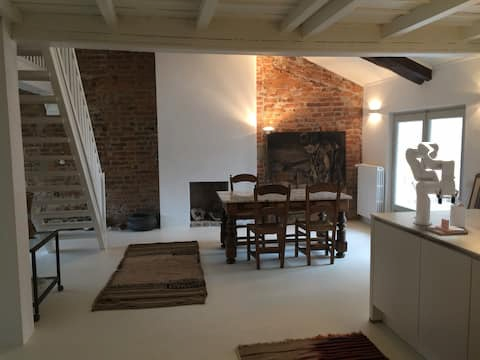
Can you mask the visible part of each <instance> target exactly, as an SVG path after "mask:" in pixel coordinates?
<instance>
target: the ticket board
mask: <svg viewBox="0 0 480 360" xmlns="http://www.w3.org/2000/svg"><path fill="white" fill-rule="evenodd" d="M449 228H450V229H453V230H455V232H445V231H442V230H440V229H437V228H435V227H425V231H426V232H427V231H428V232H429V233H433V234H435V235H438V236H459V235H460V234H461V235H462V234H463V235H469V232H468V231H466V230H465V229H464V228H462V227H455V226H450V225H449ZM463 235H462V236H463Z"/></svg>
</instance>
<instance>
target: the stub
mask: <svg viewBox="0 0 480 360" xmlns="http://www.w3.org/2000/svg"><path fill="white" fill-rule="evenodd" d="M440 222H441V224H440V225H437V226H435V227H434V228H437V229H440V230H442V231H445V232H455V230H453V229H450V228H449V226H450V219H447V218H441V221H440Z"/></svg>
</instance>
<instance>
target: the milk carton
mask: <svg viewBox="0 0 480 360" xmlns="http://www.w3.org/2000/svg"><path fill="white" fill-rule="evenodd" d="M466 211H467V207H466V206H465V204H463V203H462V200H458V199H455V204H452V203H451V204H450V215H449V226H455V227H458V228H466Z"/></svg>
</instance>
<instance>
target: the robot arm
mask: <svg viewBox="0 0 480 360" xmlns="http://www.w3.org/2000/svg"><path fill="white" fill-rule="evenodd" d="M439 150H440V149H439V145H438V143H436V142H435V141H434V142H433V141H431V142H429V141H427V142H425V141H424V142H420V143H419V144H417V146H412V147H408V148H407V149H406V150H405V154H404V155H405V160H406V162H407V164H408V165H409V167H410V171H411V173H412V176H413V179H414V180H415V181H416V182H417V183H416V184H415V192H416V202H415V203H416V206H415V216H414V217H413V219H414V220H413V222H412V223H413V224H415V225H420V226H431V225H432V221H430V220H431V203H432V202H431V198H430V196H429V195H435V196H436V197H437V204H438V205H442V204H443V197H444V196H451V198H450V204H451V205H452V204H455V201H456V199H457V197H458V195H459V193H460V191H459V190H458V189H456V181H455V179H456V176H455V164H456V163H455V160H453V159H448V158H447V159H446V158H437V157H438V152H439ZM419 159H423V162H424V165H425V166H426V168H424V165H423V163H422V162H421V161H420V160H419ZM436 171H441V176H440V177H441V179H439V176H438V174H437V172H436Z"/></svg>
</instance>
